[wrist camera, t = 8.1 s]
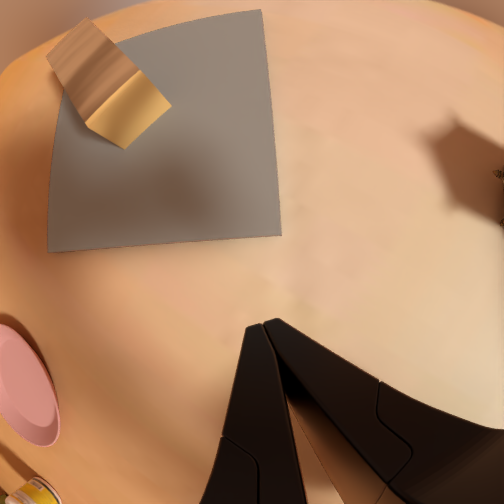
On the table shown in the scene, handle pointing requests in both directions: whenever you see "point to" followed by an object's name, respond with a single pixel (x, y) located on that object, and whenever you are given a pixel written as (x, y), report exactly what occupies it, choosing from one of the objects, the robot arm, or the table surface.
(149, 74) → the rubber mat
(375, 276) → the table surface
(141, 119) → the walnut block
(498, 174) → the game die
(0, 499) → the plant pot
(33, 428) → the plate
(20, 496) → the supplement bottle
